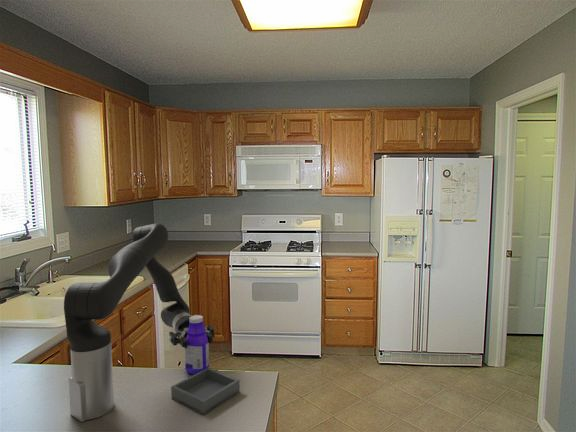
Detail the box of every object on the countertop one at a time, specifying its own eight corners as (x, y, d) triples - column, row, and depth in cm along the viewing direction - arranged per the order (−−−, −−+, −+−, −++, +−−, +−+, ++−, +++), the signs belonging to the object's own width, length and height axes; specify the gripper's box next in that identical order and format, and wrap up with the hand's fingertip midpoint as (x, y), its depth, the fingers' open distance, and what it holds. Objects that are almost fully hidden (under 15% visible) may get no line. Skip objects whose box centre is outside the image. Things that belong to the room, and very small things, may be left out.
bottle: (212, 368, 117) (210, 314, 116) (203, 377, 111) (201, 320, 110) (192, 365, 119) (190, 313, 118) (182, 374, 113) (180, 319, 112)
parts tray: (203, 415, 92) (203, 401, 92) (171, 399, 100) (171, 386, 99) (239, 392, 103) (239, 380, 102) (208, 379, 110) (207, 367, 110)
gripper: (163, 319, 123) (174, 335, 109) (205, 311, 130) (220, 326, 116) (164, 341, 124) (175, 359, 109) (206, 332, 131) (221, 349, 116)
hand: (198, 342), depth 113 cm, fingers closed on bottle, 7 cm apart
